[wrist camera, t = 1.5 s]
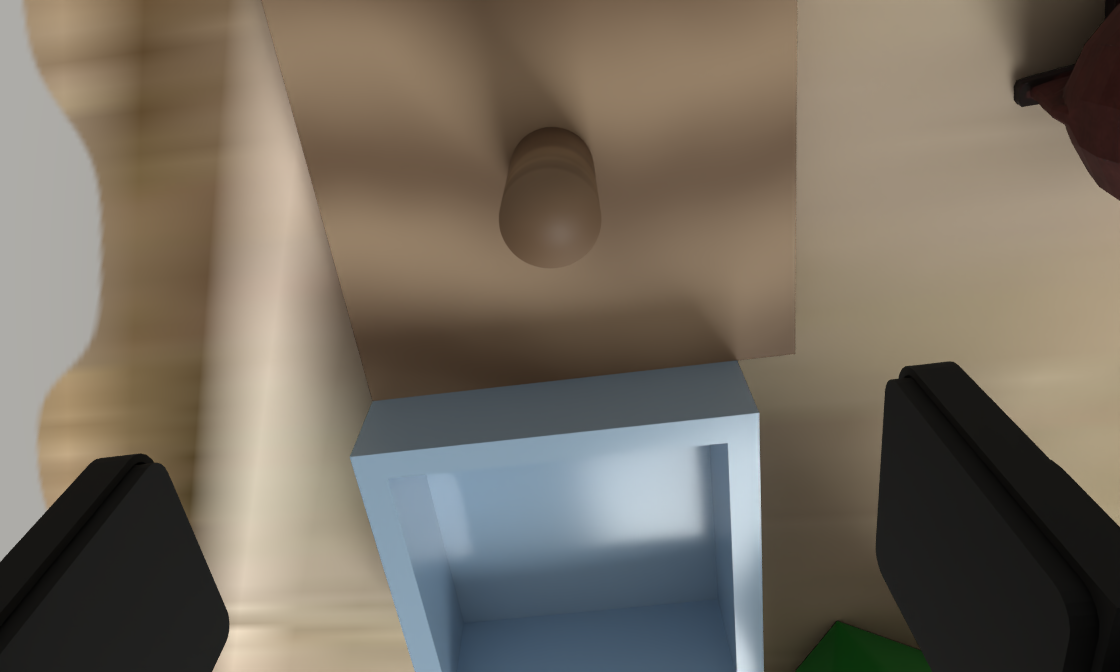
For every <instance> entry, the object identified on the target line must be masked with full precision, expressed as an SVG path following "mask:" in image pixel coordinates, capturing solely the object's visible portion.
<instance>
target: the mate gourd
mask: <svg viewBox="0 0 1120 672" xmlns="http://www.w3.org/2000/svg"><path fill="white" fill-rule="evenodd" d="M1014 100H1015V102H1016V103H1017V104H1018V105H1020V106H1021V107H1024V106H1030V105H1037V104H1040V105H1041V107H1042V108H1043V109H1044V110H1045V111H1047V112H1048V113H1049V114H1050V115H1051V116H1052V117H1053V118H1054V119H1056V120H1058V121H1060V122H1061V123H1063V124H1065V126H1066V129H1067V132H1068V135H1069V137H1070V140H1071V142H1072V144H1073V146H1074V148H1075V149H1076V151H1077V153H1078V155H1079V156H1080V158H1081V160H1082V162H1083V164H1084V165H1085V167H1086V169H1087V171H1088V172H1089V174H1090V175H1091V176H1092V178H1093V179H1094V180H1095V182H1096V183H1097V184H1098V186H1099V187H1100V188H1102V189H1103V190H1105V191H1106V192H1108V193H1109V194H1111V195H1112V196H1114V197H1115V198H1117V199H1118V200H1119V201H1120V0H1106V2H1105V21H1104V22H1103V23H1102V24H1101V25H1100V27H1099V28H1098V29H1097V30H1096V32H1095V33H1094V34H1093V35H1092V36H1091V38H1090V39H1089V40H1088V41H1087V42H1086V44H1085V45H1084V47H1083V49H1082V51H1081V54H1080V56H1079V58H1078V60H1077V62H1076V64H1074V65H1070V66H1066V67H1063V68H1059V69H1055V70H1051V71H1048V72H1044V73H1040V74H1036V75H1033V76H1029V77H1026V78H1023V79H1020V80H1018V81H1016V84H1015V86H1014Z"/></svg>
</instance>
